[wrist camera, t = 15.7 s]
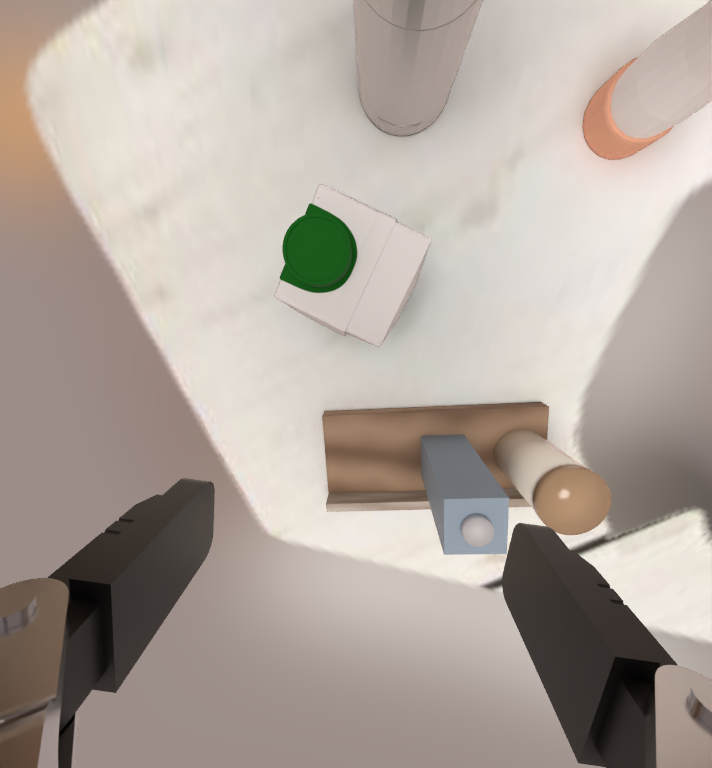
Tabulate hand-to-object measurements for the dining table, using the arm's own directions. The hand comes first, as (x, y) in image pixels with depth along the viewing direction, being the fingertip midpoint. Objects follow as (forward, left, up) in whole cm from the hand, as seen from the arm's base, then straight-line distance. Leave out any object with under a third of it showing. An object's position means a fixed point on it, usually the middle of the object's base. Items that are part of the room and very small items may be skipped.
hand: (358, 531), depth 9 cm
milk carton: (-8, -2, -33) cm, 34 cm away
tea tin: (+10, +10, -31) cm, 34 cm away
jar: (+9, +19, -31) cm, 37 cm away
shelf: (+11, +9, -33) cm, 36 cm away
